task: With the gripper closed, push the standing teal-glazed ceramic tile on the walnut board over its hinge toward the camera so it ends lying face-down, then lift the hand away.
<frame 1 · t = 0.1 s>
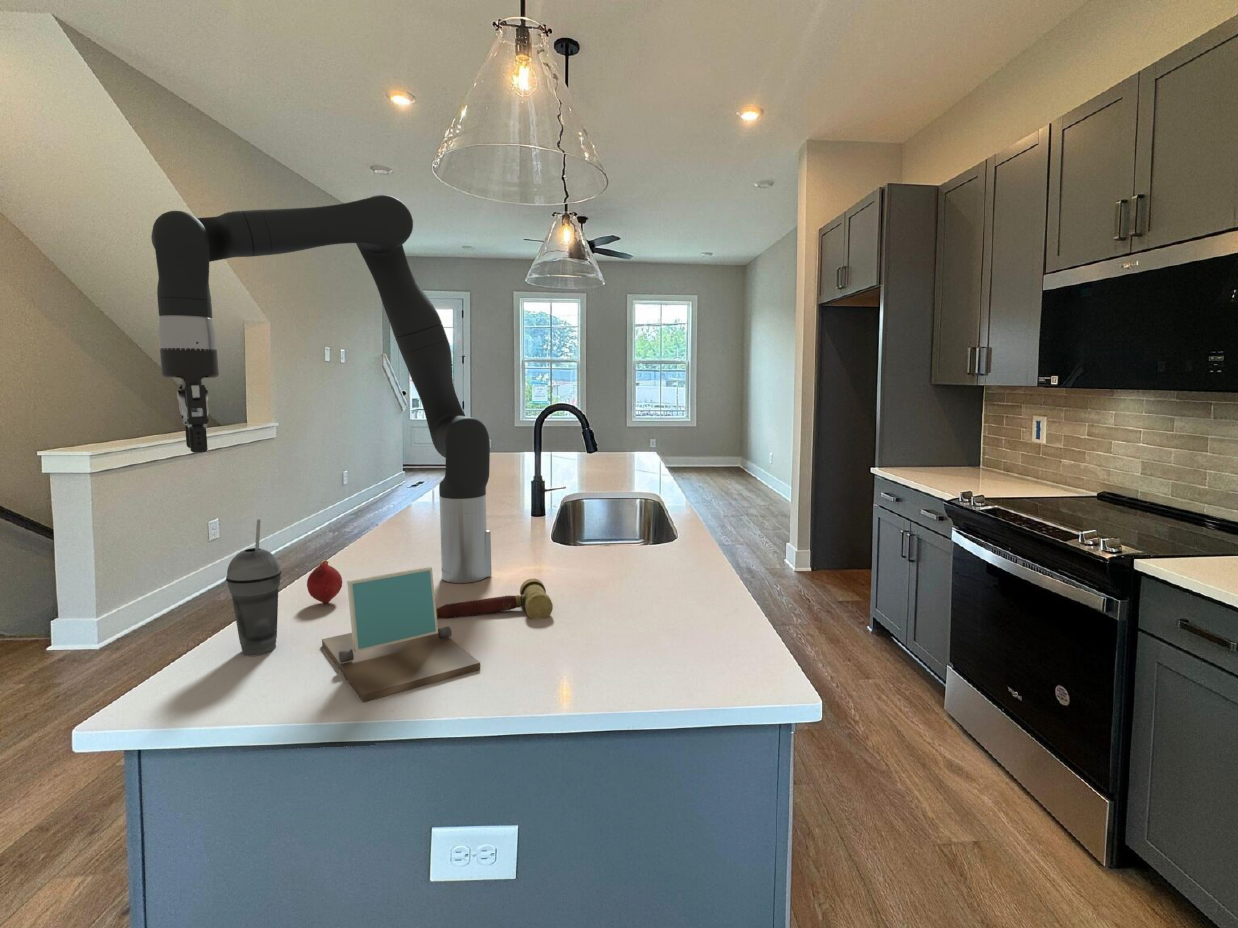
hand: (197, 449, 104), 29 cm above the countertop, tool pointing down, fingers open, 8 cm apart
tile: (394, 607, 96), point 7 cm above the countertop, hinge at 80.0°
gavel: (489, 616, 115), on the countertop
walnut board: (398, 656, 96), on the countertop
onion: (325, 604, 119), on the countertop
beverage cup: (259, 650, 99), on the countertop
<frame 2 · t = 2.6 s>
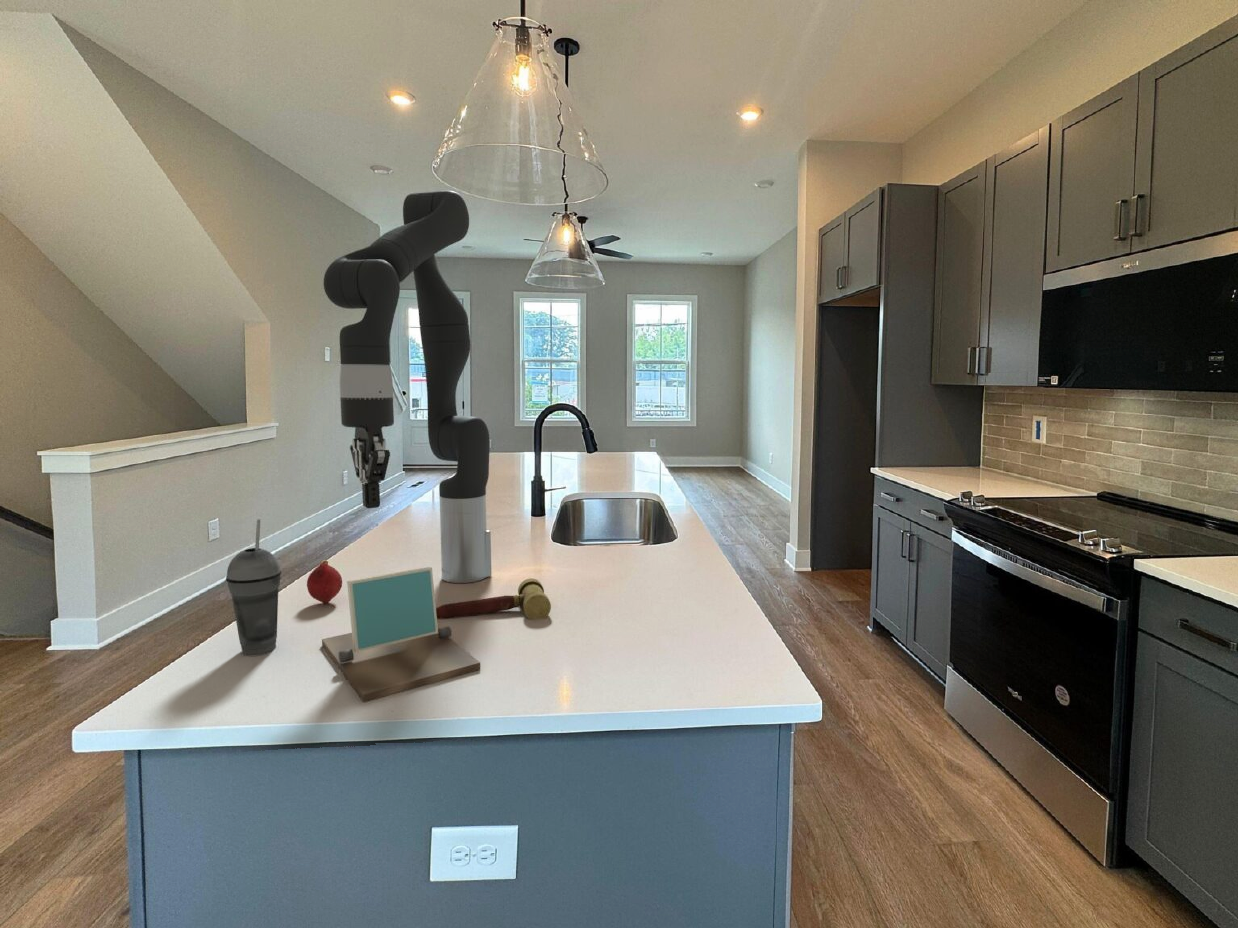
hand: (371, 507, 101), 21 cm above the countertop, tool pointing down, fingers closed
nothing on the countertop moved.
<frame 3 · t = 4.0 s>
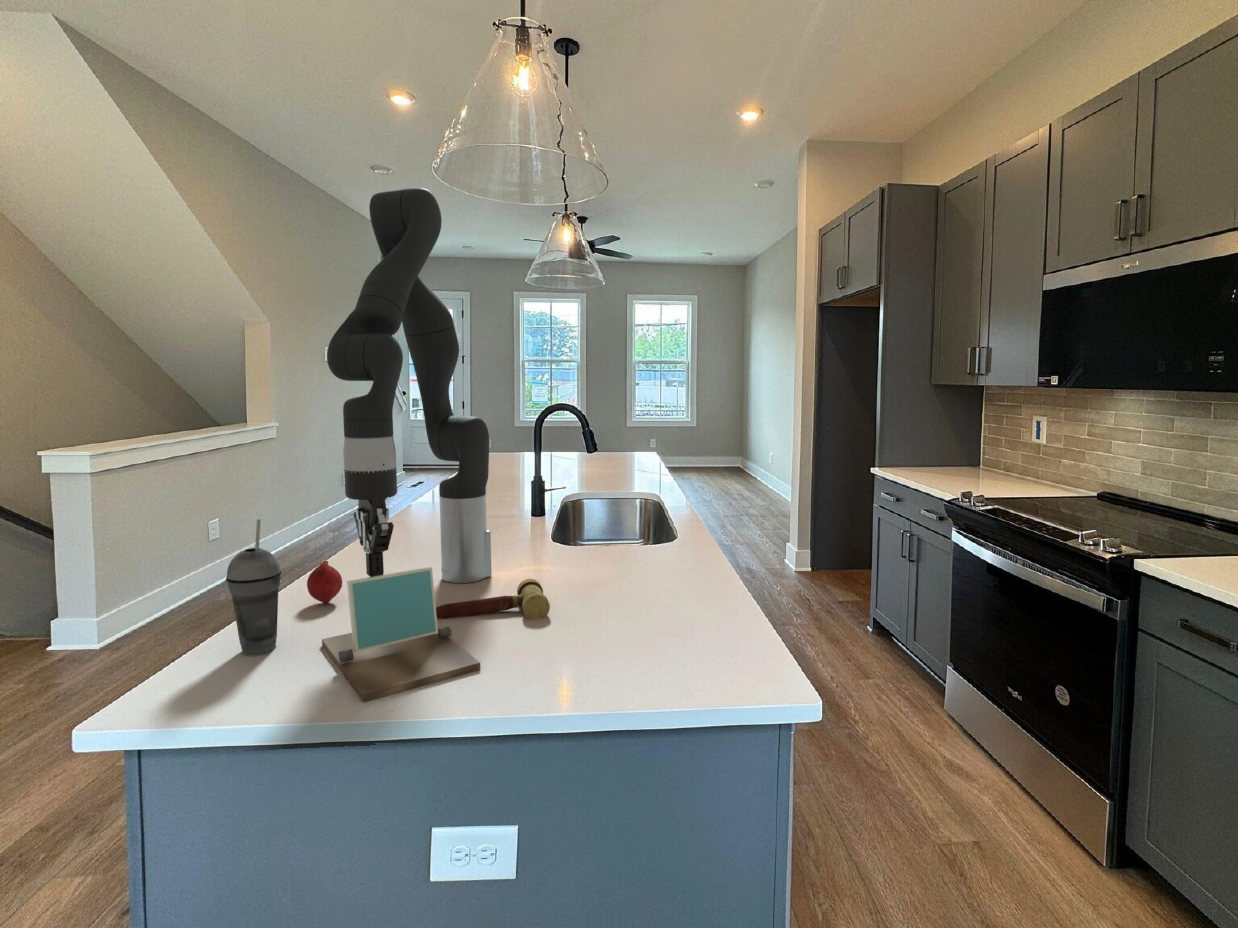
hand: (375, 575, 102), 10 cm above the countertop, tool pointing down, fingers closed
nothing on the countertop moved.
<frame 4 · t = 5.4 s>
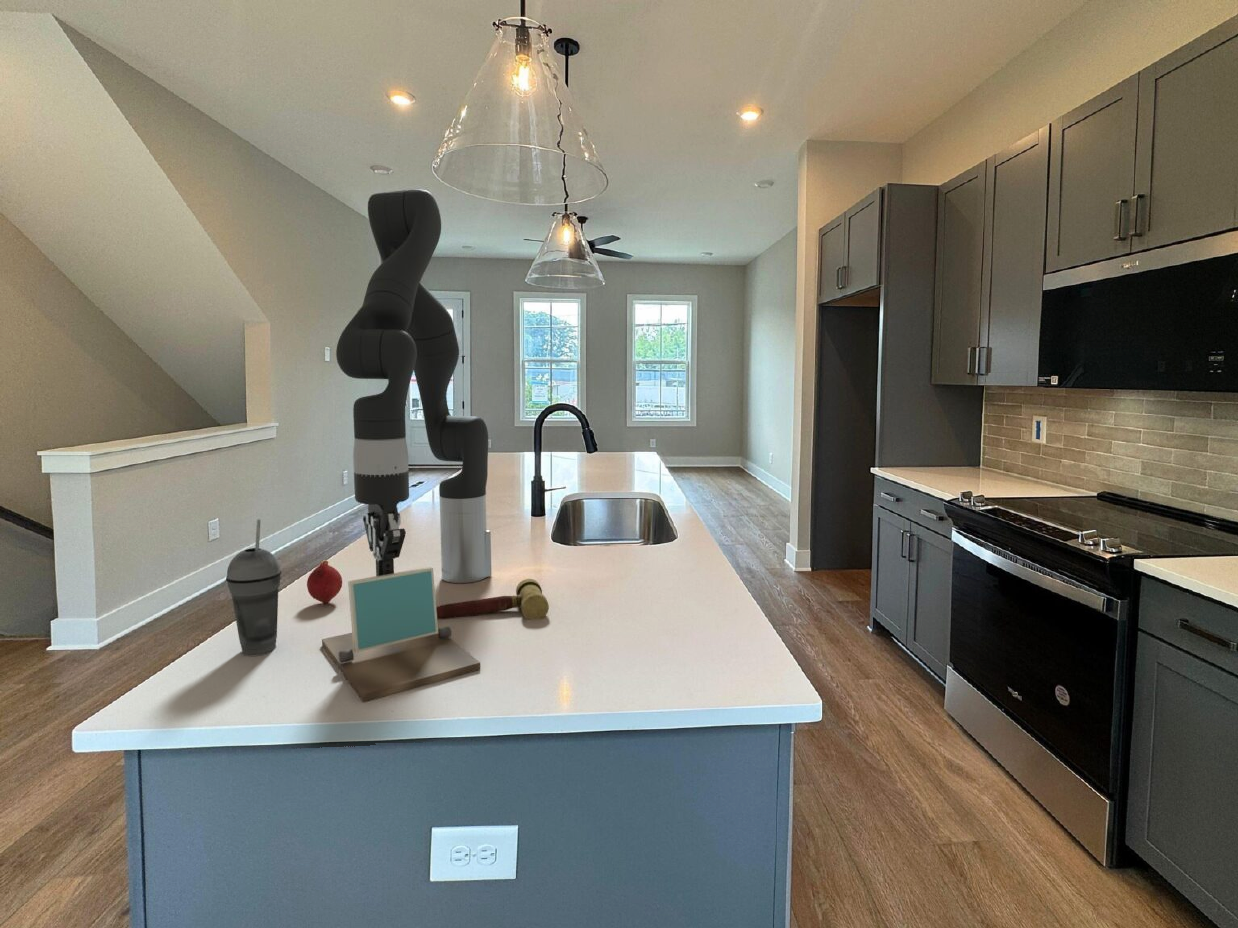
hand: (385, 582, 98), 10 cm above the countertop, tool pointing down, fingers closed
tile: (394, 608, 96), point 7 cm above the countertop, hinge at 82.7°, touching gripper
everything else where it was.
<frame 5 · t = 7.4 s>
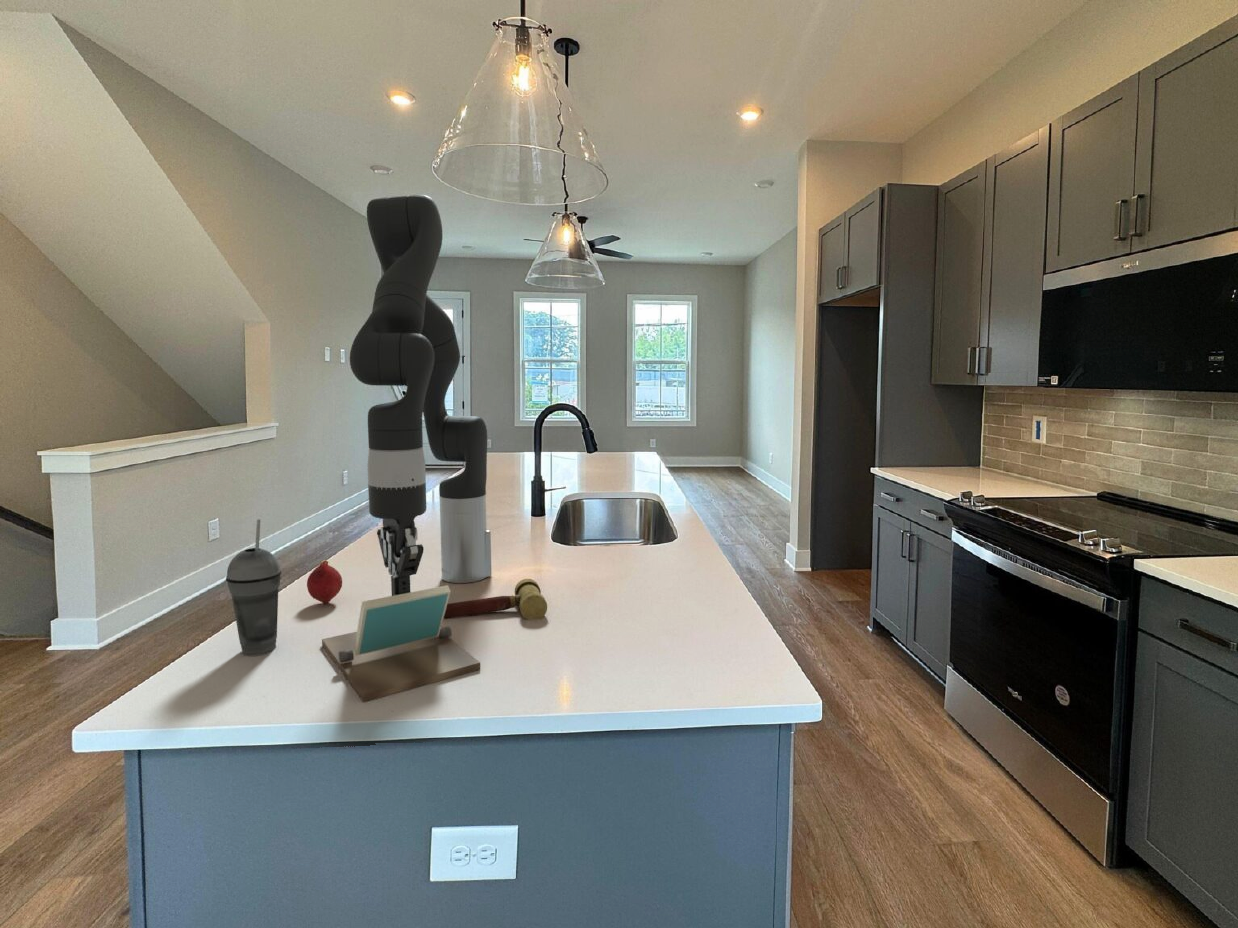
hand: (401, 600, 92), 9 cm above the countertop, tool pointing down, fingers closed
tile: (402, 620, 93), point 6 cm above the countertop, hinge at 122.0°, touching gripper
everything else where it was.
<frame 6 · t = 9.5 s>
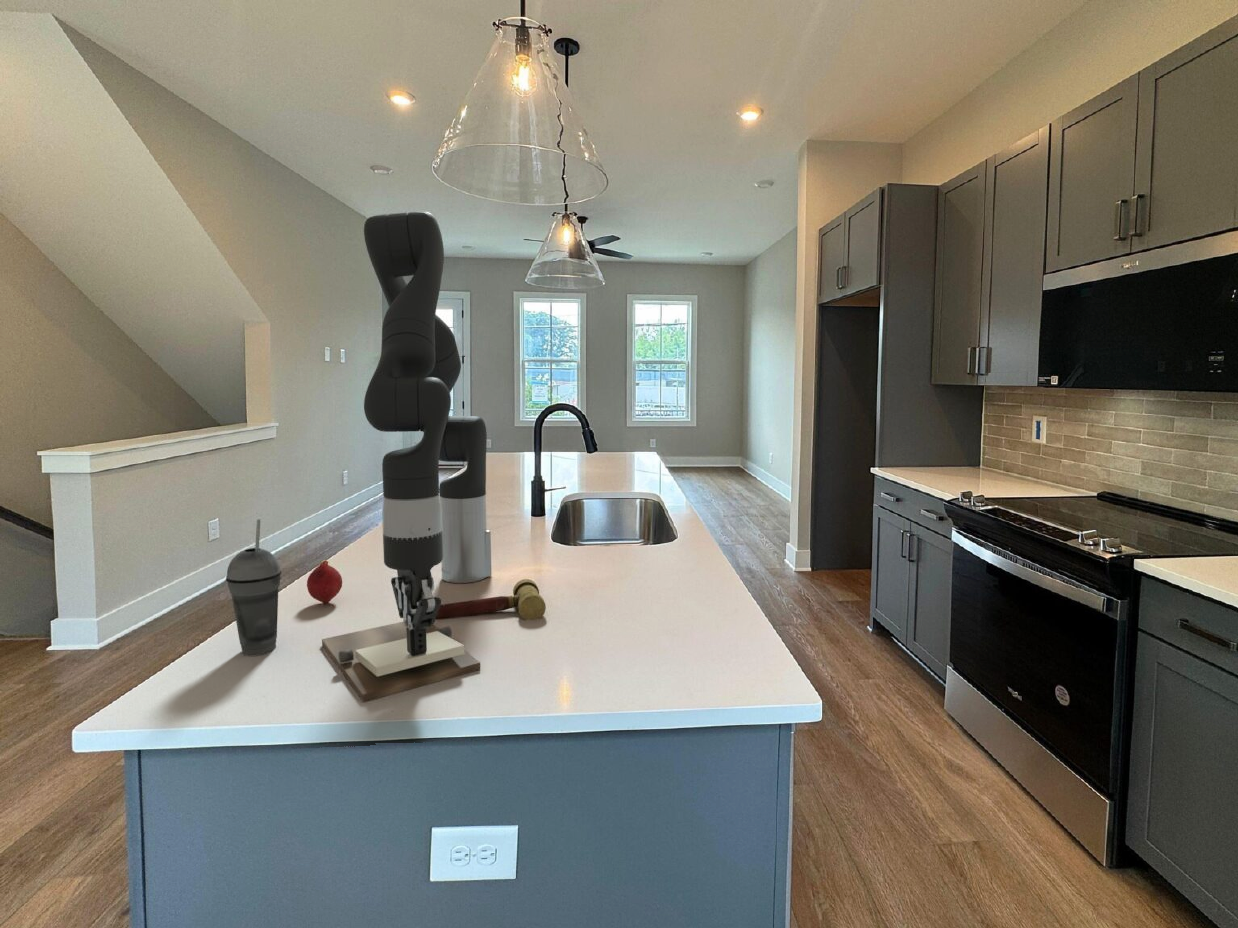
hand: (417, 652, 89), 4 cm above the countertop, tool pointing down, fingers closed
tile: (409, 652, 92), point 3 cm above the countertop, hinge at 173.6°, touching gripper
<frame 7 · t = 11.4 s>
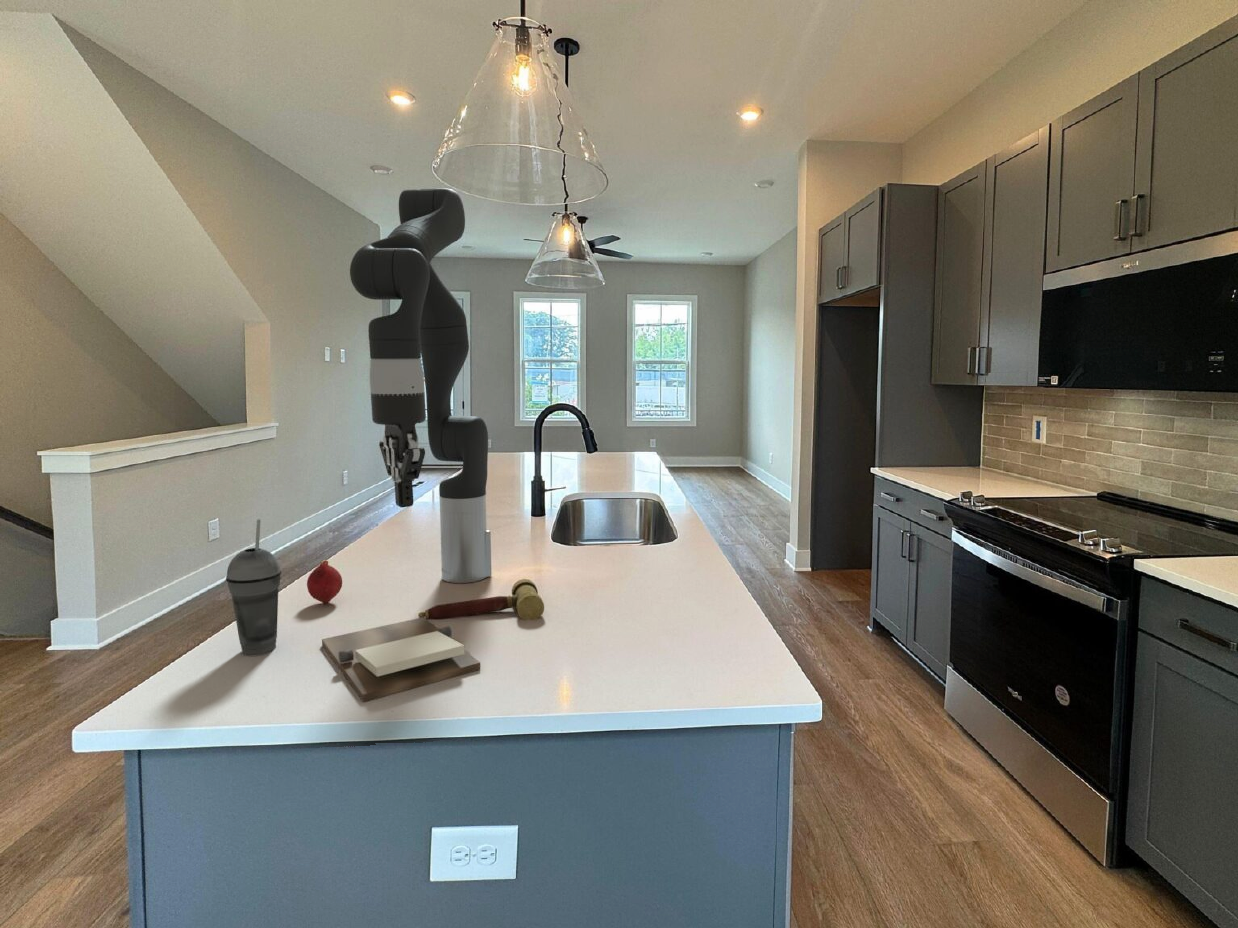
hand: (404, 505, 98), 22 cm above the countertop, tool pointing down, fingers closed
tile: (409, 652, 92), point 3 cm above the countertop, hinge at 173.6°
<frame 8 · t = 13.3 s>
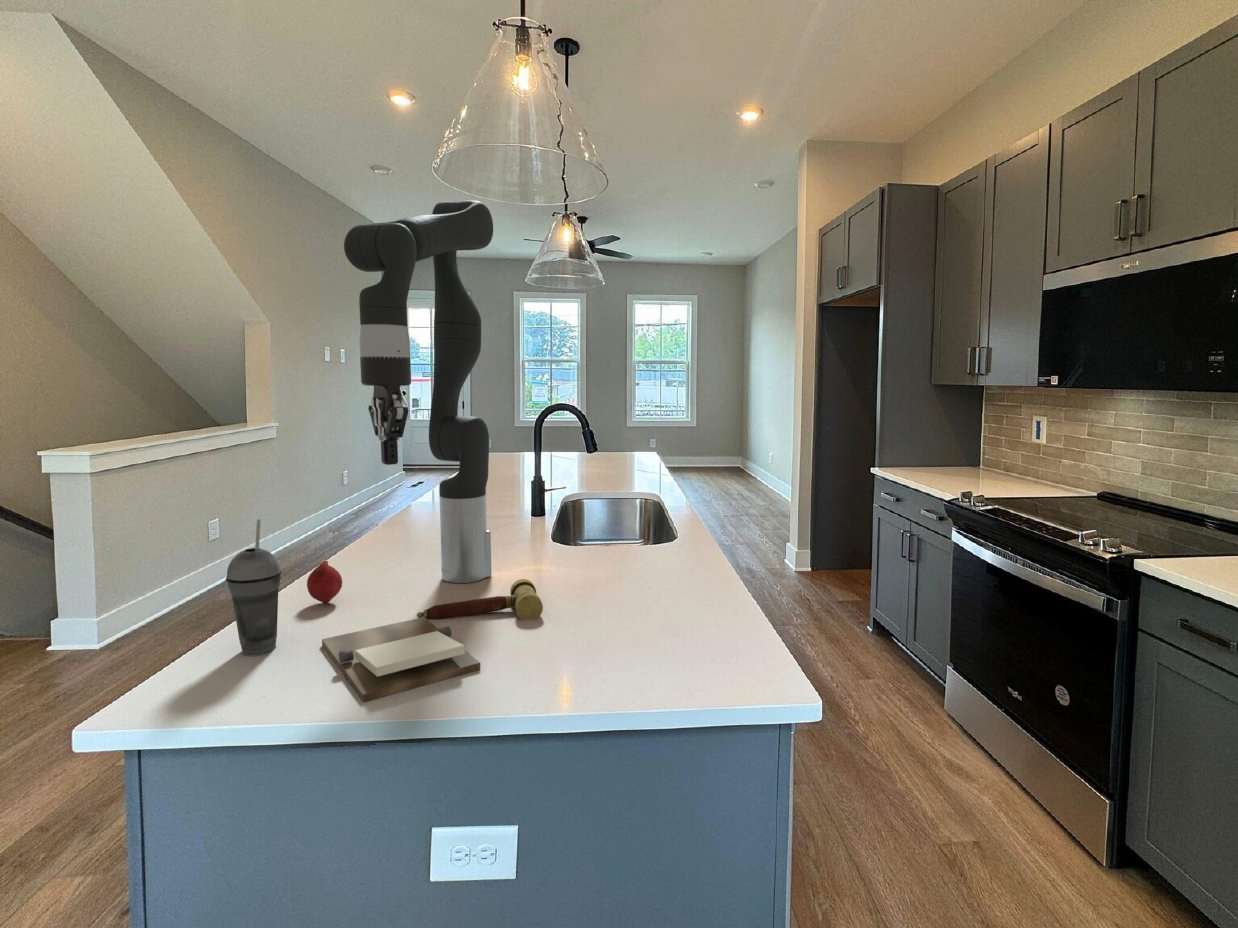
hand: (389, 463, 105), 27 cm above the countertop, tool pointing down, fingers closed
at the end: tile at +174° (first picture: +80°); beverage cup moved 0.2 cm from its start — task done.
